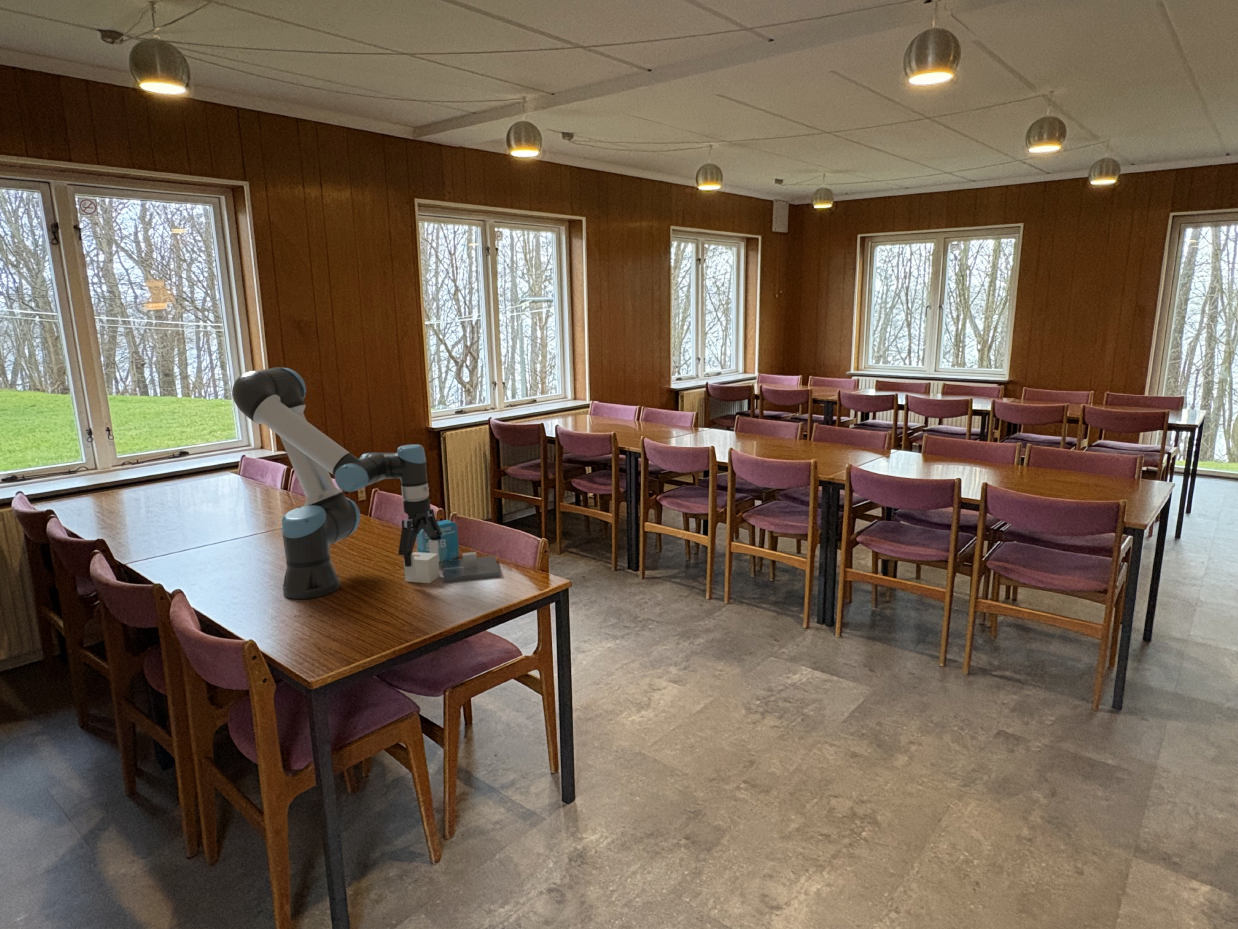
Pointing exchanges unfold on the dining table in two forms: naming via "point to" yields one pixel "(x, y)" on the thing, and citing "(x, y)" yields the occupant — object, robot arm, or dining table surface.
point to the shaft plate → (470, 568)
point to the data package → (441, 541)
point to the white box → (424, 568)
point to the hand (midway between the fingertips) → (423, 568)
